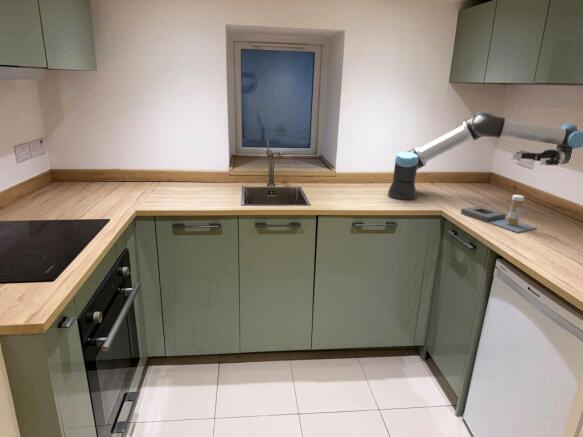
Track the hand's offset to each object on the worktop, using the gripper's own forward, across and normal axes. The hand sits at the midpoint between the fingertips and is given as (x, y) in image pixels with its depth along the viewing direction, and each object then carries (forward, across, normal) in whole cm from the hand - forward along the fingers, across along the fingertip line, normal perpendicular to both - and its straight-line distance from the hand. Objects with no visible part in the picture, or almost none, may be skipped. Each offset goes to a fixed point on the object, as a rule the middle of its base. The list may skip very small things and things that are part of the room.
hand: (526, 159), depth 189 cm
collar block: (+15, +6, -28) cm, 32 cm away
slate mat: (+15, -9, -28) cm, 33 cm away
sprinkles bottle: (+15, -9, -28) cm, 32 cm away
